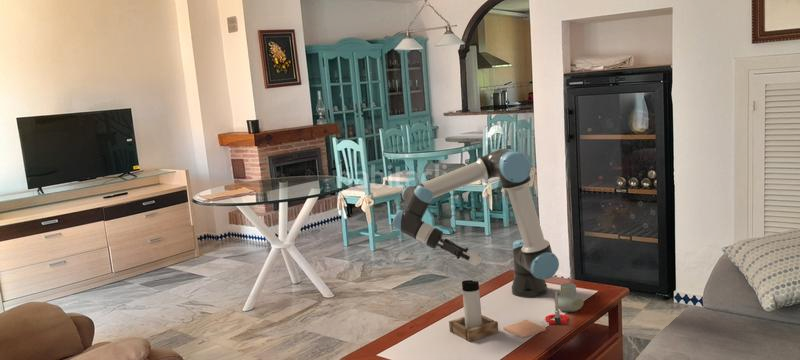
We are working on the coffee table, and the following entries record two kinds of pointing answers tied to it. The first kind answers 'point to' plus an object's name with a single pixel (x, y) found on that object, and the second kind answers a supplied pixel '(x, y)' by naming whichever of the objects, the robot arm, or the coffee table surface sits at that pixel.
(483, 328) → the wooden tray
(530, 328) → the terracotta tile
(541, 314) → the coffee table surface
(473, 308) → the travel mug
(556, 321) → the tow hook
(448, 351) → the coffee table surface
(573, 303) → the air freshener
